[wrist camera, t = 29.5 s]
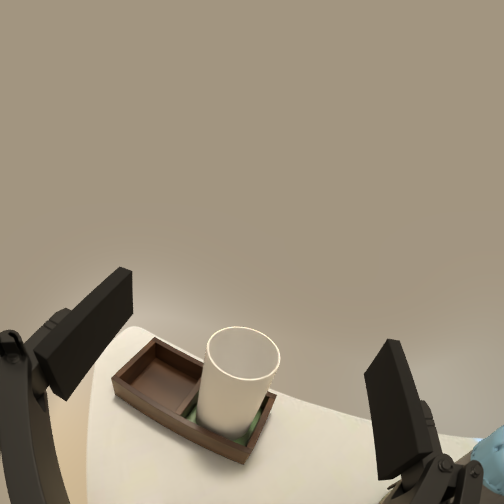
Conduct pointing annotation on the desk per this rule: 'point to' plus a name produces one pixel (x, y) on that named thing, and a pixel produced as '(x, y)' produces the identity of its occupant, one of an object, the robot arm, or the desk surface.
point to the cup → (235, 380)
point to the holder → (180, 398)
